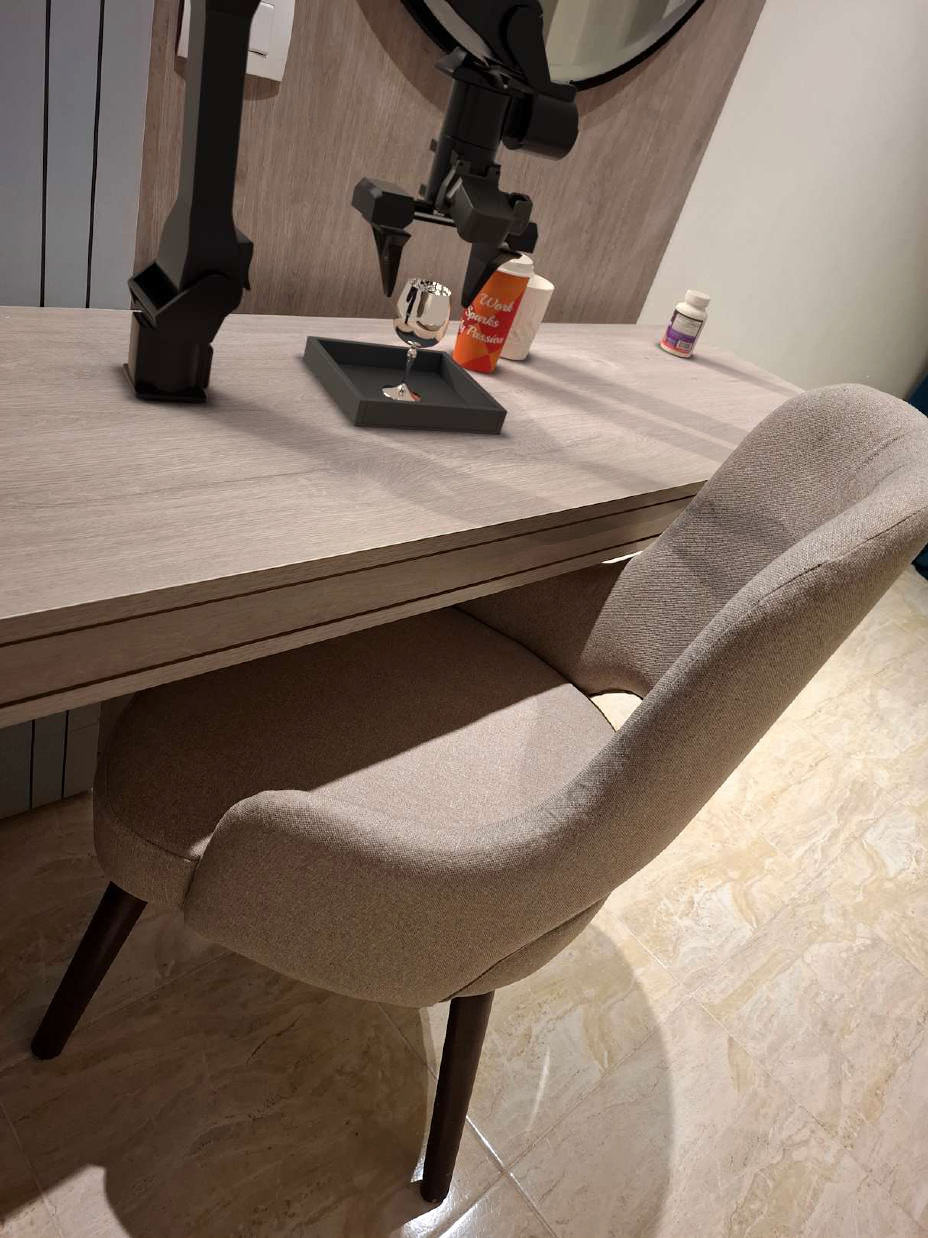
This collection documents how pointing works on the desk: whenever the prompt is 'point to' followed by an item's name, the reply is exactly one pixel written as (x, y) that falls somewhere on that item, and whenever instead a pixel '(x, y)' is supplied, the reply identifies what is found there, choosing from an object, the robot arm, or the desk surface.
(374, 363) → the tray
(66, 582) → the desk surface
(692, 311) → the pill bottle
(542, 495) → the desk surface
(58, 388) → the desk surface
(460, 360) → the paper cup
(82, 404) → the desk surface
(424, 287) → the wineglass
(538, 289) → the white cup
